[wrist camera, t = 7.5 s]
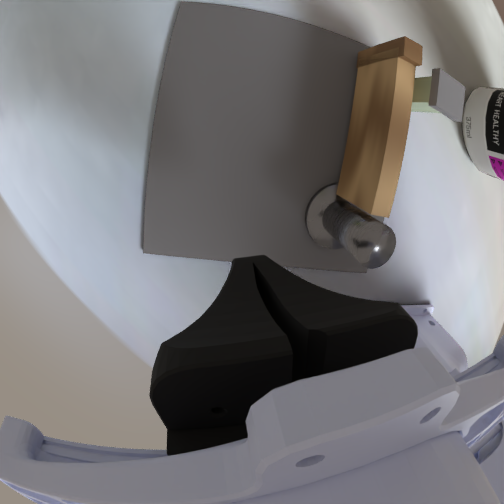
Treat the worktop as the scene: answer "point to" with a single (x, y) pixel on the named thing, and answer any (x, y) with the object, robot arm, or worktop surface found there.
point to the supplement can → (485, 130)
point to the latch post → (439, 95)
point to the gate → (379, 125)
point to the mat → (248, 137)
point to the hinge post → (348, 228)
